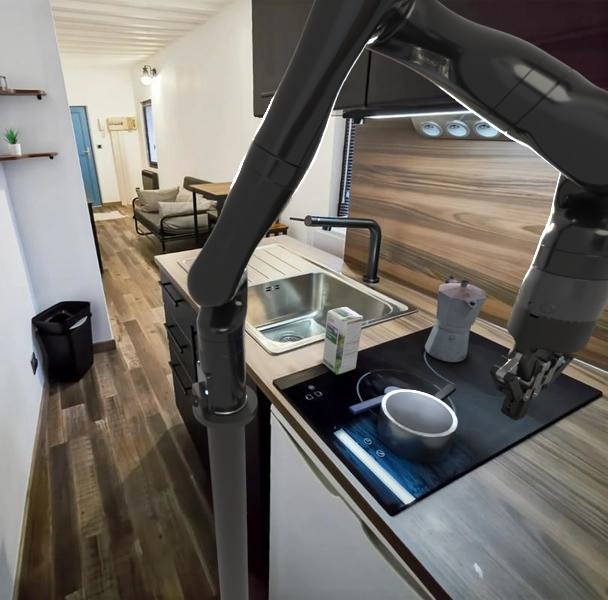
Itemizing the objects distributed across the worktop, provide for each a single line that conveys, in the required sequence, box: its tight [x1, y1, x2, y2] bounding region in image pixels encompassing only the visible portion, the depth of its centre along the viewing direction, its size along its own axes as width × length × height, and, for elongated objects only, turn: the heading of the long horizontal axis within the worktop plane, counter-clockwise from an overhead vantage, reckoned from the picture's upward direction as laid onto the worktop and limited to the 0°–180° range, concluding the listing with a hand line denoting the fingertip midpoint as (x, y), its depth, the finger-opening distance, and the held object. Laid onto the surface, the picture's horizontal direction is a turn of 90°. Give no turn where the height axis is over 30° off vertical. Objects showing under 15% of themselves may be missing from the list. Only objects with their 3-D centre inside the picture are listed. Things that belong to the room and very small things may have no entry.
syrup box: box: [322, 306, 364, 375], centre depth 85 cm, size 6×6×14 cm
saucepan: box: [376, 383, 459, 463], centre depth 68 cm, size 19×12×6 cm, turn 124°
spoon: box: [348, 386, 404, 415], centre depth 76 cm, size 14×4×1 cm, turn 110°
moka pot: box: [424, 275, 487, 363], centre depth 87 cm, size 10×15×20 cm, turn 172°
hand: (511, 415), depth 51 cm, fingers closed
